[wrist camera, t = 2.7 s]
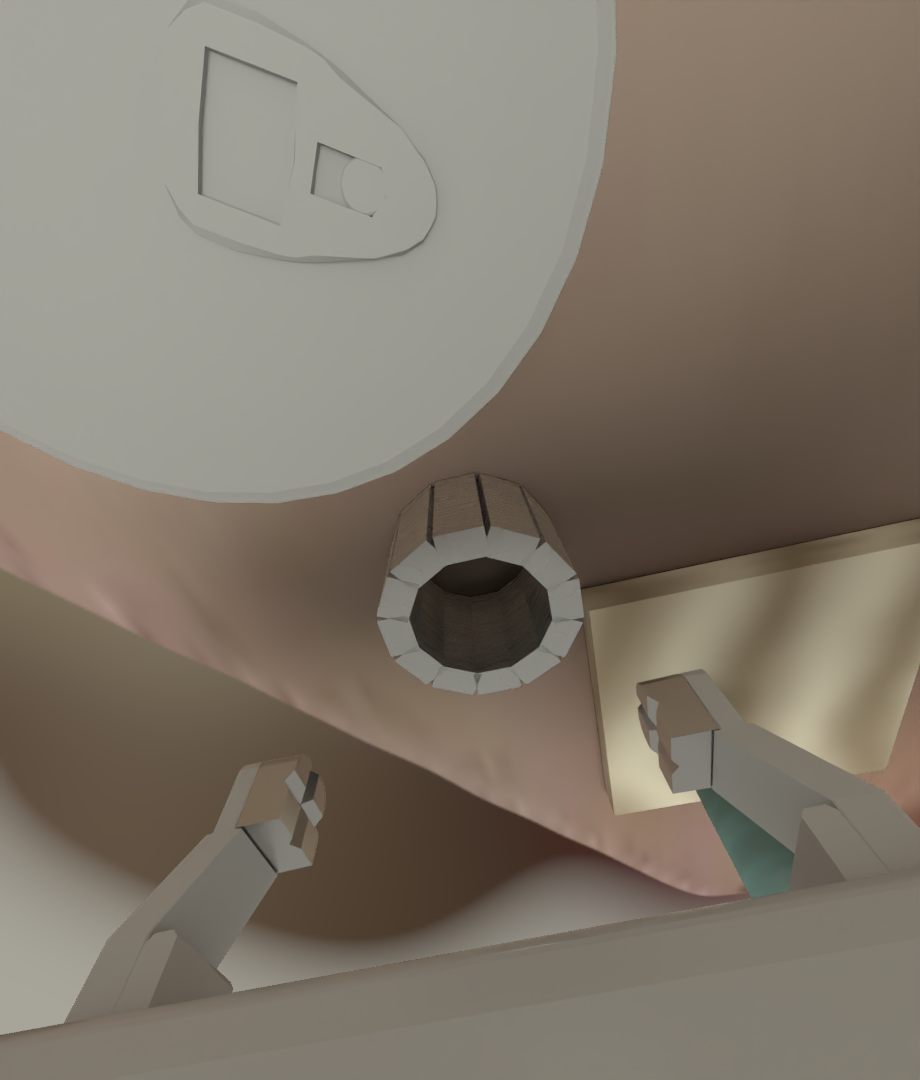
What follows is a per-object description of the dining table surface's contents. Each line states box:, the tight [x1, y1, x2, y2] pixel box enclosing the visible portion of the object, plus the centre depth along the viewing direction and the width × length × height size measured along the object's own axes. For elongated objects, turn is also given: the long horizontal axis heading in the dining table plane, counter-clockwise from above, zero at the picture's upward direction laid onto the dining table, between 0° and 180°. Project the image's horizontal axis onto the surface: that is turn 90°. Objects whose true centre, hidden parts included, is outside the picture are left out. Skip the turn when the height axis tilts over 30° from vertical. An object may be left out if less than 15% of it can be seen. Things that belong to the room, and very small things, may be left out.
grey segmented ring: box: [377, 473, 584, 695], centre depth 16 cm, size 6×6×4 cm
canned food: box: [0, 0, 617, 503], centre depth 9 cm, size 8×8×11 cm
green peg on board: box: [581, 519, 920, 898], centre depth 18 cm, size 14×14×8 cm
